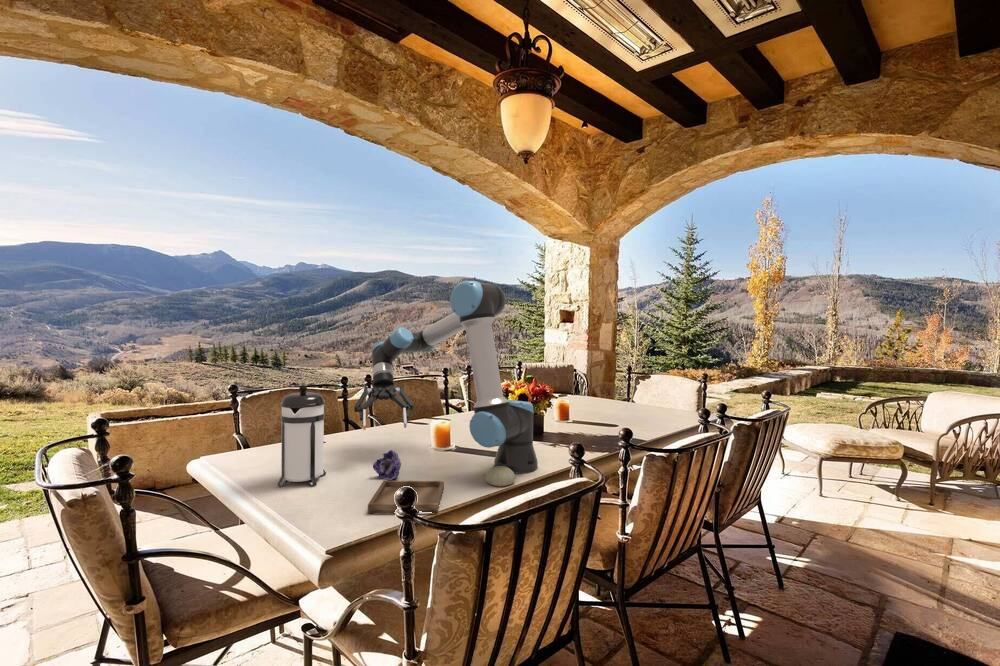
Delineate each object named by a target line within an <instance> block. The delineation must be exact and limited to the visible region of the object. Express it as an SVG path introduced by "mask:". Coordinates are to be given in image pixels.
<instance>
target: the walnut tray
mask: <svg viewBox="0 0 1000 666" xmlns="http://www.w3.org/2000/svg"><path fill="white" fill-rule="evenodd" d="M403 486H410V487H412V488H413V489H414V490H415V491H416V492H417V495H418V502H417V503H416V504H415V508H416V509H417V510H418V513H419V511H422V512H432V513H435V514H434V515H438V512H439V510H438V509H440V506H441V502H440V501H442V498H443V495H442V494H444V491H443V490H444V489H445V480H387V481H386V480H383V481H382V482H381V484H380V485H379V487H378V488H377V490H376V492H374V494H373V496H372V497H371V499H370V500H369V502H368V503H367V514H368V513H391V514H390V515H395V514H394V512H395V510H396V509H397V506H396V504H395V502H394V494H395V492H396V491H397V490H398V489H399V488H401V487H403ZM439 505H440V506H439ZM392 513H393V514H392Z"/></svg>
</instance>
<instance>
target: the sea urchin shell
mask: <svg viewBox="0 0 1000 666" xmlns="http://www.w3.org/2000/svg"><path fill="white" fill-rule="evenodd" d="M515 474H516V473H514V472H513V471H512V470H511V469H510V468H508V467H505V466H496V467H494V466H493V467H491V468H489V470H487V472H486V474H485V477H484V479H485V481H486V483H487V484H489V485H491V486H494V487H505V486H510V485H512V484H514V482H515V481H516V475H515Z"/></svg>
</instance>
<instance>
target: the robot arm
mask: <svg viewBox="0 0 1000 666" xmlns="http://www.w3.org/2000/svg"><path fill="white" fill-rule="evenodd" d="M506 300H507V299H506V295H505V292H504V291H503V289H502V288H501V287H500V286H498V285H497V284H494V283H489V282H482V281H477V280H463V281H461V282H459V283H458V284H456V285H455V287H454V288H453V290H452V292H451V293H450V298H449V302H450V303H449V305H450V309H451V311H452V313H451V314H449V315H447V316H444V317H443V318H442V319H440V320H438V321H436V322H434V323H433V324H431V325H429V326H427V327H426V328H424V329H422V330H420V331H417V332H412V331H410V330H409V329H408V328H405V327H398V328H396V329H395V330H394V331H393V332H392V333H391V334H390V335H389V336H388V337H386V339H385V341H379V342H376V343H374V344H373V346H372V348H371V349H372V351H371V360H372V361H371V364H372V388H371V387H370V388H369V387H368V386H364V388H363V392H362V393H361V395H360V397H359V398H358V399H357V402H356V403H355V405H354V406H353V407H354V408H353V409H354V410H353V411H354V413H359V421H362V423H363V424H362V430H363V431H366V427H367V426H366V425H367V423H366V420H367V419H366V413H367V412H366V411H367V409H368V408H369V407H371V406H372V405H373V403H375V402H376V401H377V400H380V401H382V400H387V401H388V400H391V402H393V403H395V404H396V405H397V406H398V407H400V408H401V409H402V418H403V428H404V429H406V428H407V426H408V425H407V424H408V422H407V421H408V420H407V419H410V410H411V411H412V410H414V405H415V404H414V403H413V401H412V400H411V398H410V397H409V396H408V394H407V393H406V391H405V390H404V386H403V385H399V387H395V379H394V365H393V364H394V363H393V362H394V361H395V360H396V359H397V358H398V357H399V356H400V355H401V354H402V353H417V352H418V353H419V352H430V351H432V350H433V349H434V348H435V346H436V345H438V344H439V343H441V342H443V341H445V340H447V339H448V338H451V337H452V336H454V335H457V334H459V333H460V332H462V331H464V330H465V333H466V338H467V345H468V350H469V351H468V353H469V356H470V357H469V358H470V362H471V363H470V364H471V370H472V376H473V382H474V388H475V395H476V402H475V403H474V405H473V411H474V412H473V415H472V416H471V418H470V419H471V420H470V421H469V432H470V435H471V437H472V439H473V440H474V441H475V442H476V443H477V444H479V446H481V447H484V448H488V449H489V448H490V449H491V448H494V447H498V449H497V450H496V454H495V457H494V465H493V467H496V466H505V467H508V468H510V469H511V470H512V471H513V472H514V474H526V473H531V472H534V471H536V470H537V469H538V461H539V460H538V458H537V454H536V451H535V448H534V414H535V412H534V405H533V403H531V402H530V401H523V400H513V399H512V400H510V399H507V398H506V397H505V396H504V394H503V388H502V382H501V377H500V375H501V374H500V369H499V368H500V367H499V363H498V358H497V357H498V355H497V352H496V351H497V350H496V344H495V338H494V332H493V327H492V324H493V322H495V320H496V317H497V316H499V315H500V314H501V313H502V312H503V310H504V309H505V306H506ZM396 392H397V393H396ZM370 393H371V394H372V395H371V396H370V397H369V398H368V399H367V400H366V398H367V396H368V395H370ZM397 394H398V395H399V396H400V397H399V396H398V395H397ZM401 398H402V399H401ZM365 400H366V401H365Z"/></svg>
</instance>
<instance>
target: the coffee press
mask: <svg viewBox="0 0 1000 666" xmlns="http://www.w3.org/2000/svg"><path fill="white" fill-rule="evenodd" d="M298 390H299V391H300V392H294V393H289V394H287V395H285V396H284V397H283V398H282V401H280V408H281V414H280V422H281V449H280V450H281V458H280V459H281V461H280V462H281V464H280V465H281V470H280V471H281V475H280V479H279V480H278V481H277V486H278V487H280V488H282V487H285V485H286V484H287V483H288V482H290V483H291V482H293V483H298V482H308V483H309V485H310V487H311V488H312V487H316V486H317V479H318V478H319V477H320V476H321V477H325V476H326V474H327V471H326V470H325V469H324V443H325V442H324V438H325V437H324V431H325V430H324V429H325V428H324V425H325V422H324V421H325V420H324V419H325V412H324V411H325V405H326V400H325V399H324V397H323V395H322V394H320V393H318V392H312V391H309V392H308V387H307V385H305V384H301V385H300V386H299V388H298ZM283 480H284V481H283ZM281 486H282V487H281Z"/></svg>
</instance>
